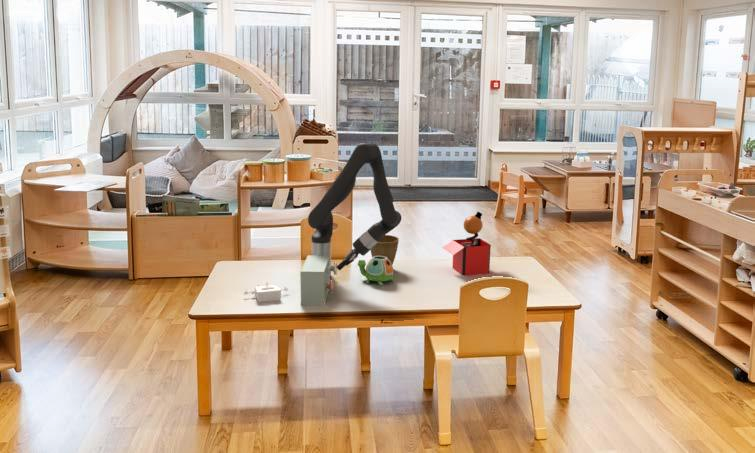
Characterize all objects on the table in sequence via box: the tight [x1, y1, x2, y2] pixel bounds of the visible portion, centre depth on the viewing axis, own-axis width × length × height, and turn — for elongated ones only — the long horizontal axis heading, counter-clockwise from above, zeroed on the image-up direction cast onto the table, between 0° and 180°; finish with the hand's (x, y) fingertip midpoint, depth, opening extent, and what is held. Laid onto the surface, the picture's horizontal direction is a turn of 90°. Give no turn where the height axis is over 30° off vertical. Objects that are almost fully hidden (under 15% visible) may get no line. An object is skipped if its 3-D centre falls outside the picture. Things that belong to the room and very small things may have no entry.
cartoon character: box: [243, 282, 289, 303], centre depth 340 cm, size 8×20×16 cm
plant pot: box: [370, 234, 400, 266], centre depth 381 cm, size 15×15×16 cm
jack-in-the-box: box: [442, 211, 493, 277], centre depth 379 cm, size 26×16×30 cm, turn 106°
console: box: [300, 254, 331, 306], centre depth 340 cm, size 10×26×15 cm, turn 178°
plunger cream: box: [328, 261, 338, 276], centre depth 345 cm, size 13×6×6 cm, turn 88°
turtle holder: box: [356, 256, 394, 286], centre depth 363 cm, size 12×18×12 cm
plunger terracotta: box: [325, 279, 335, 294], centre depth 334 cm, size 13×6×6 cm, turn 88°
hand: (338, 268), depth 345 cm, fingers closed
